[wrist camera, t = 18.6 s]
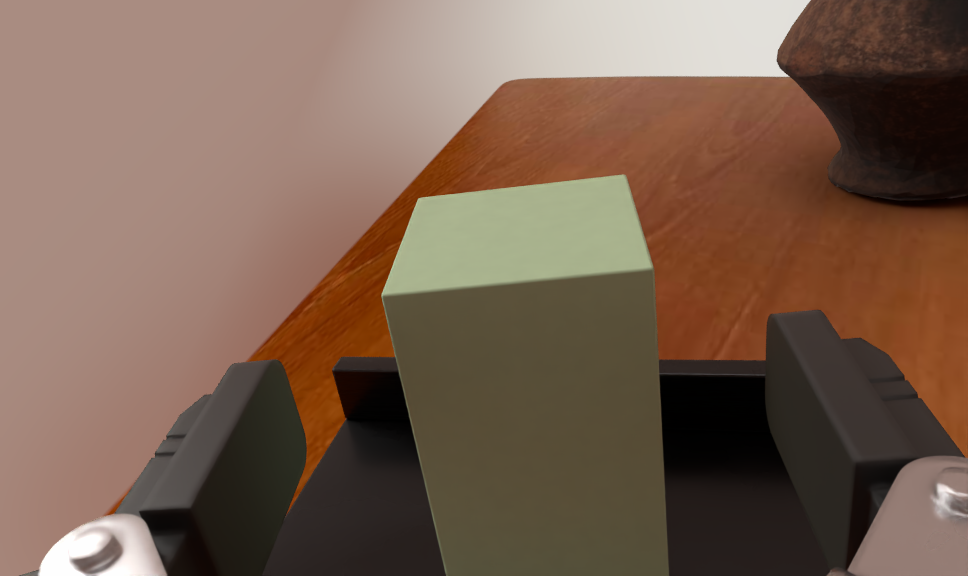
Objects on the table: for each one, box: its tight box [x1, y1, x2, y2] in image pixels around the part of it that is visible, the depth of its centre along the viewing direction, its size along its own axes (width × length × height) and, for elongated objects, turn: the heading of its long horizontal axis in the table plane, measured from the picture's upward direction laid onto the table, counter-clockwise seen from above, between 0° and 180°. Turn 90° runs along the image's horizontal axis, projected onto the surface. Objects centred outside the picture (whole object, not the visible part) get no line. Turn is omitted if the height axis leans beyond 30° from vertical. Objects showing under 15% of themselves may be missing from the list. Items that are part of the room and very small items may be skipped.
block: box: [382, 175, 669, 576], centre depth 17 cm, size 5×5×9 cm
